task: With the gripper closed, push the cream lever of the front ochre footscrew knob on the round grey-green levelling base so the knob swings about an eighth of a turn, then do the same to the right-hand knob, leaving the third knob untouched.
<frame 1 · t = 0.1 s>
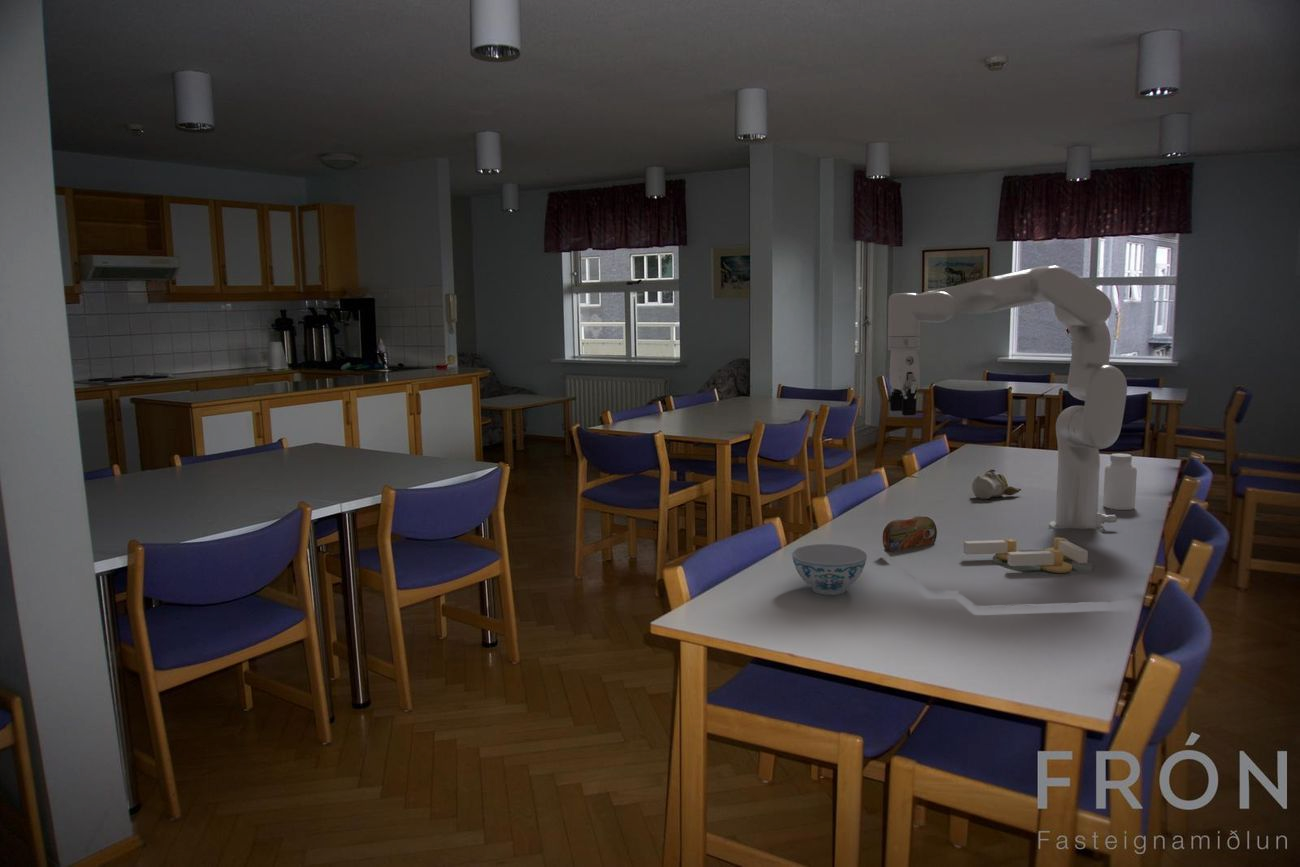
hand: (902, 412, 222), 31 cm above the table, fingers open, 9 cm apart
pill bottle: (1118, 508, 251), on the table
knob left: (994, 549, 198), point 4 cm above the table, hinge at 0.0°
knob right: (1067, 551, 195), point 4 cm above the table, hinge at 0.0°
tin: (909, 553, 210), on the table
knob front: (1039, 560, 188), point 4 cm above the table, hinge at 0.0°
level base: (1041, 568, 195), on the table
ceramic sculpture: (992, 497, 269), on the table
chinaware: (828, 590, 184), on the table
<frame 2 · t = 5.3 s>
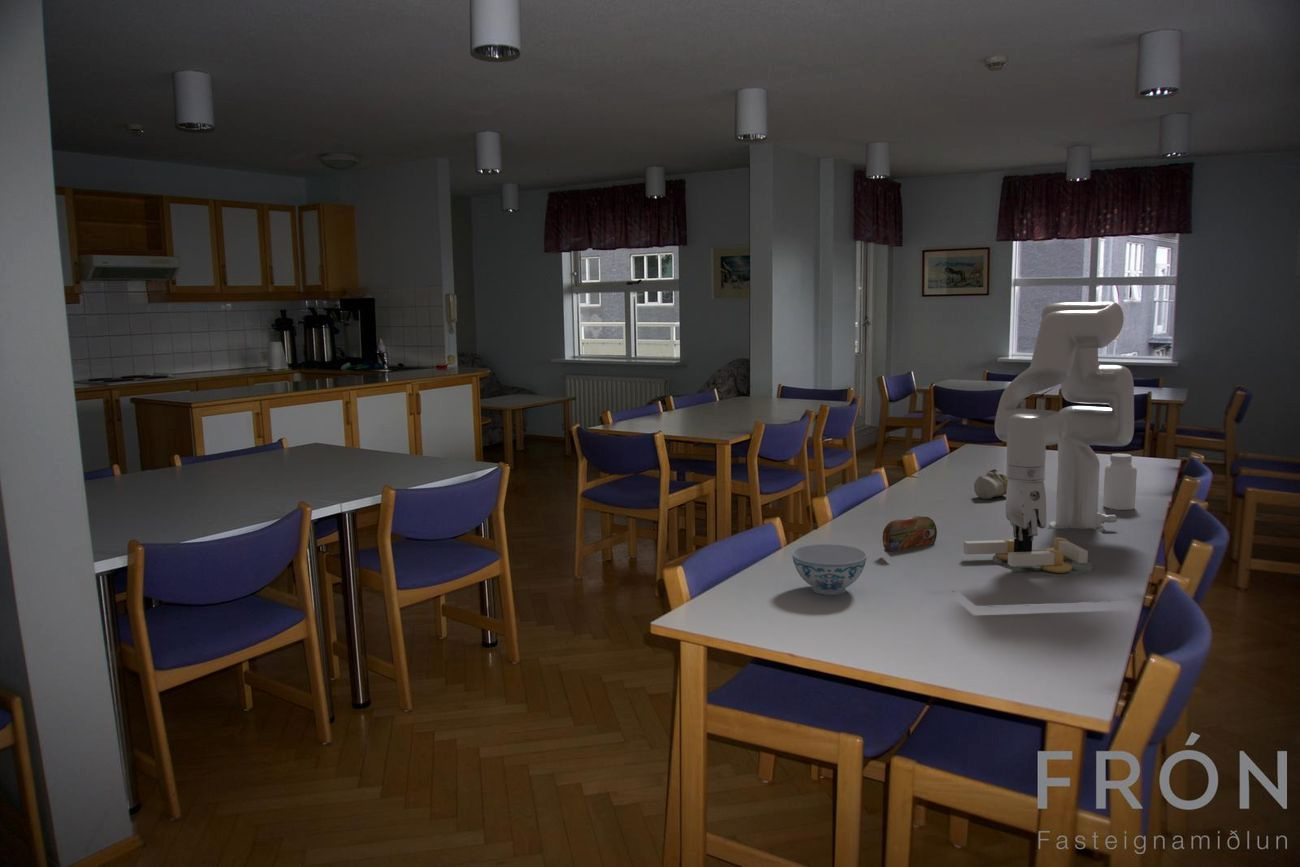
hand: (1022, 557, 190), 4 cm above the table, fingers closed
knob front: (1040, 560, 188), point 4 cm above the table, hinge at 1.0°, touching gripper
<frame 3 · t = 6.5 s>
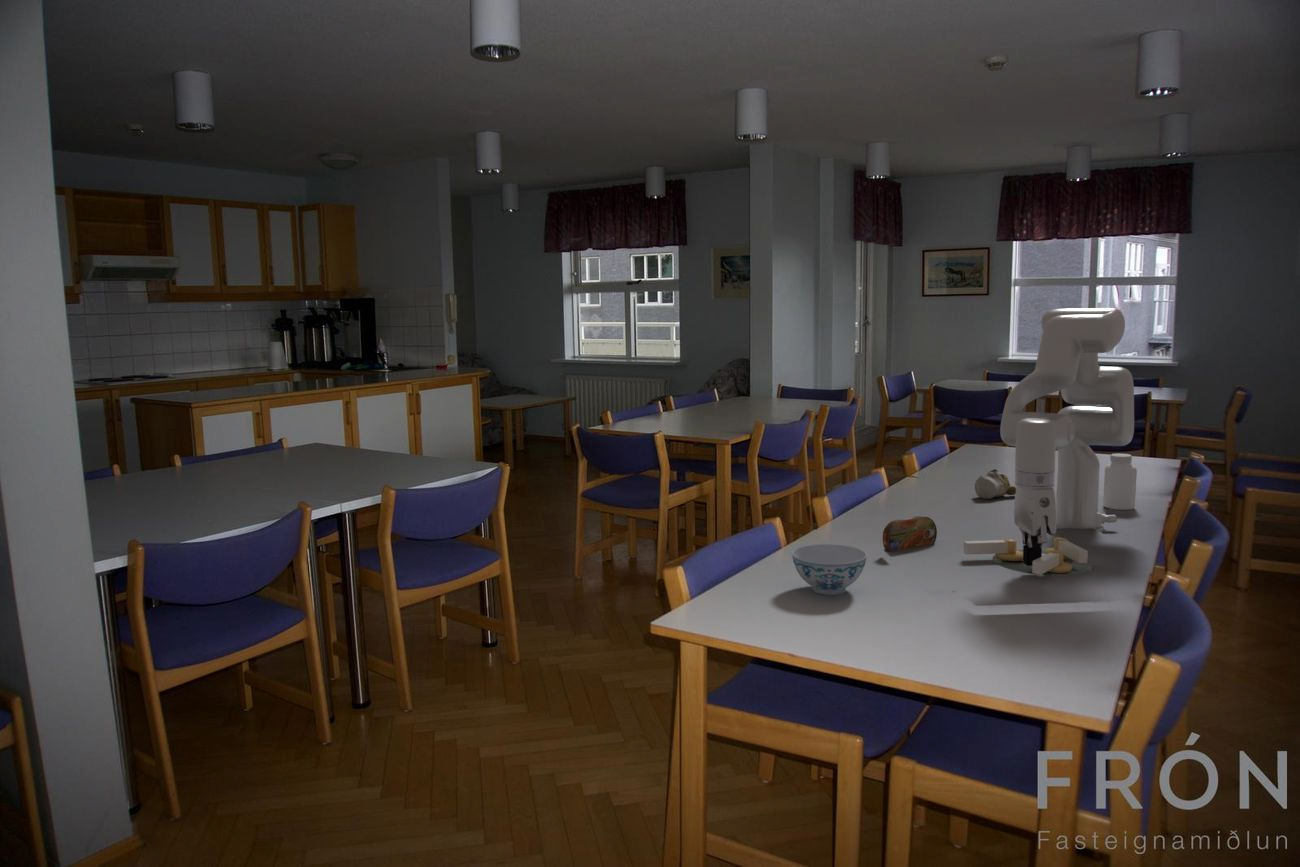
hand: (1032, 564, 187), 3 cm above the table, fingers closed
knob front: (1049, 563, 186), point 4 cm above the table, hinge at 42.8°, touching gripper
everything else where it was.
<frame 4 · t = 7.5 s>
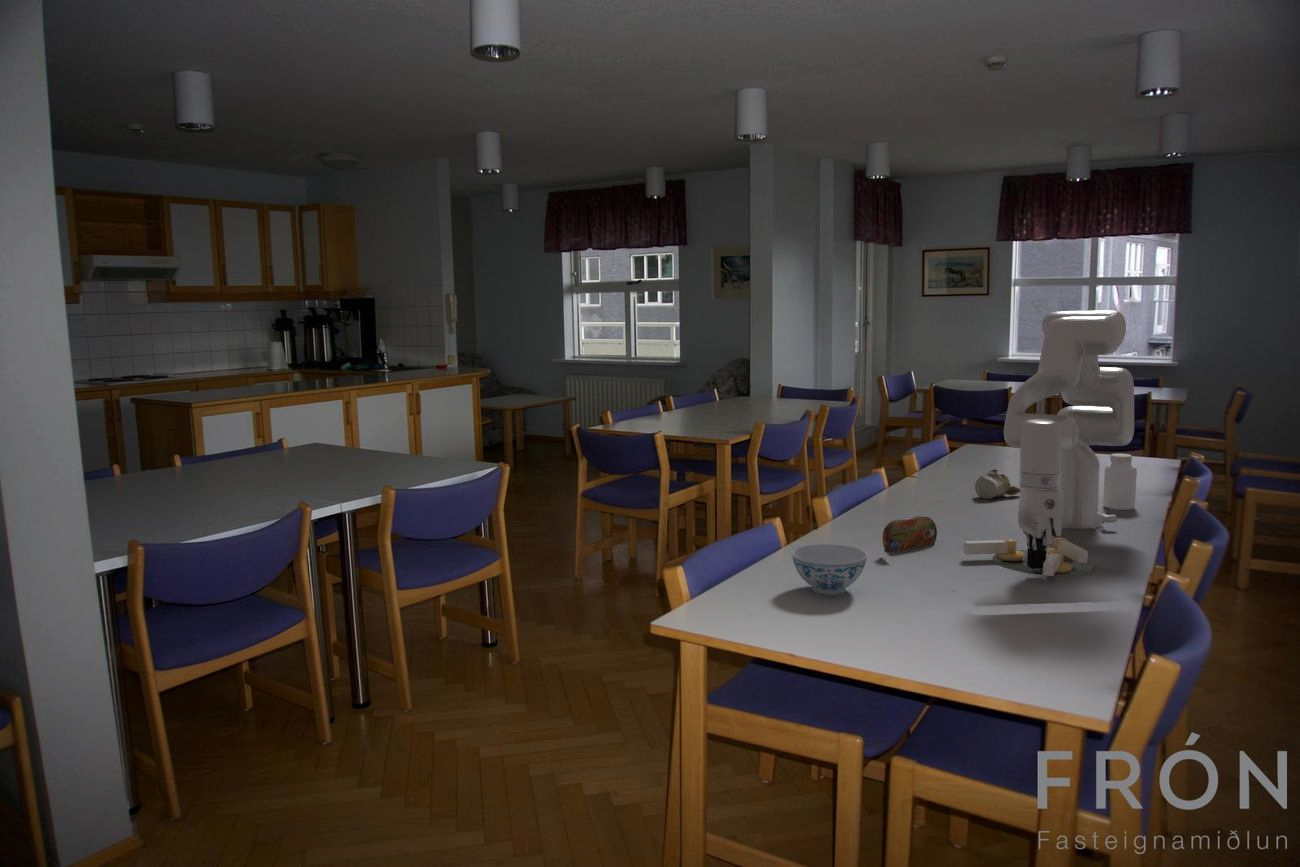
hand: (1036, 567, 185), 3 cm above the table, fingers closed
knob front: (1053, 564, 185), point 4 cm above the table, hinge at 55.0°, touching gripper
everything else where it was.
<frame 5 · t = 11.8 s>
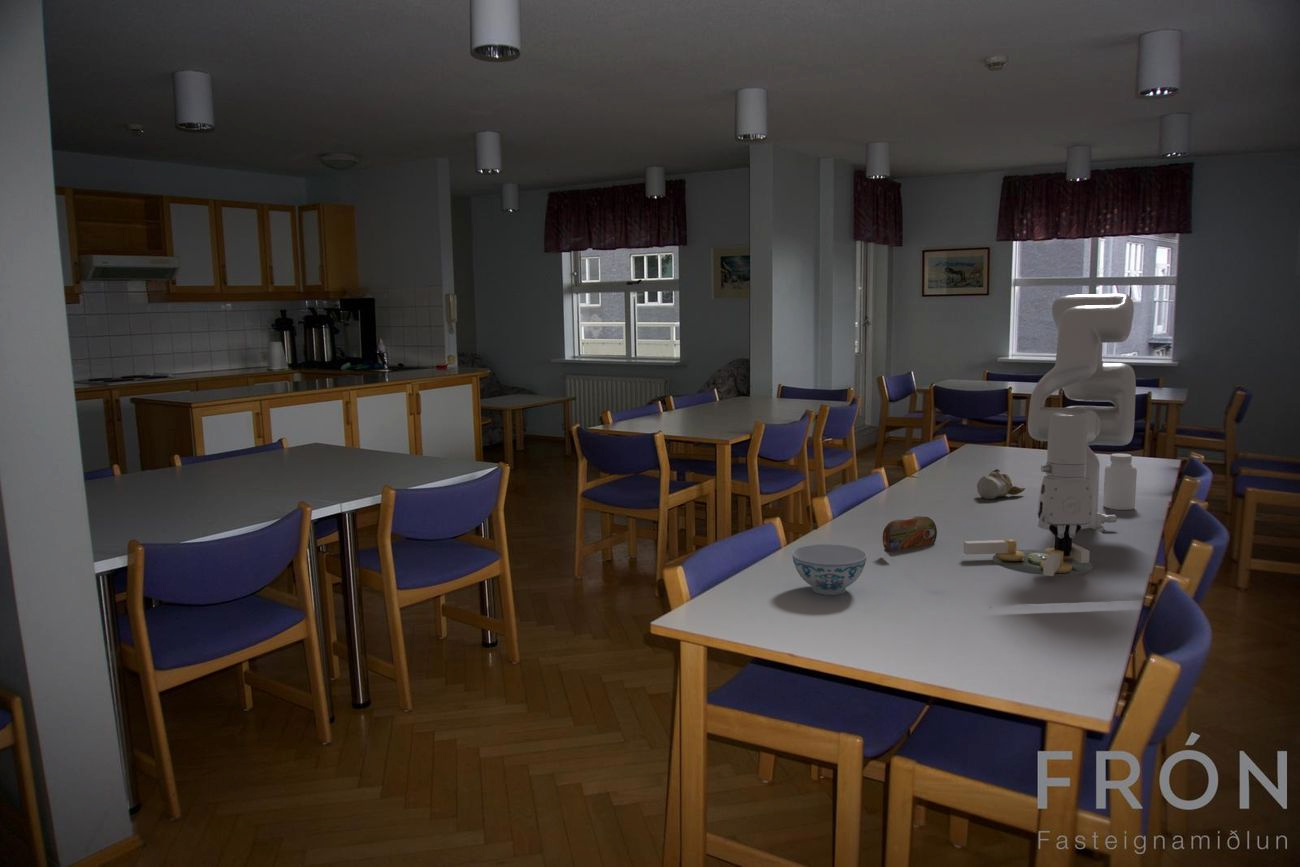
hand: (1062, 554, 192), 4 cm above the table, fingers closed
knob right: (1068, 551, 195), point 4 cm above the table, hinge at 2.4°, touching gripper
knob front: (1053, 564, 185), point 4 cm above the table, hinge at 55.3°
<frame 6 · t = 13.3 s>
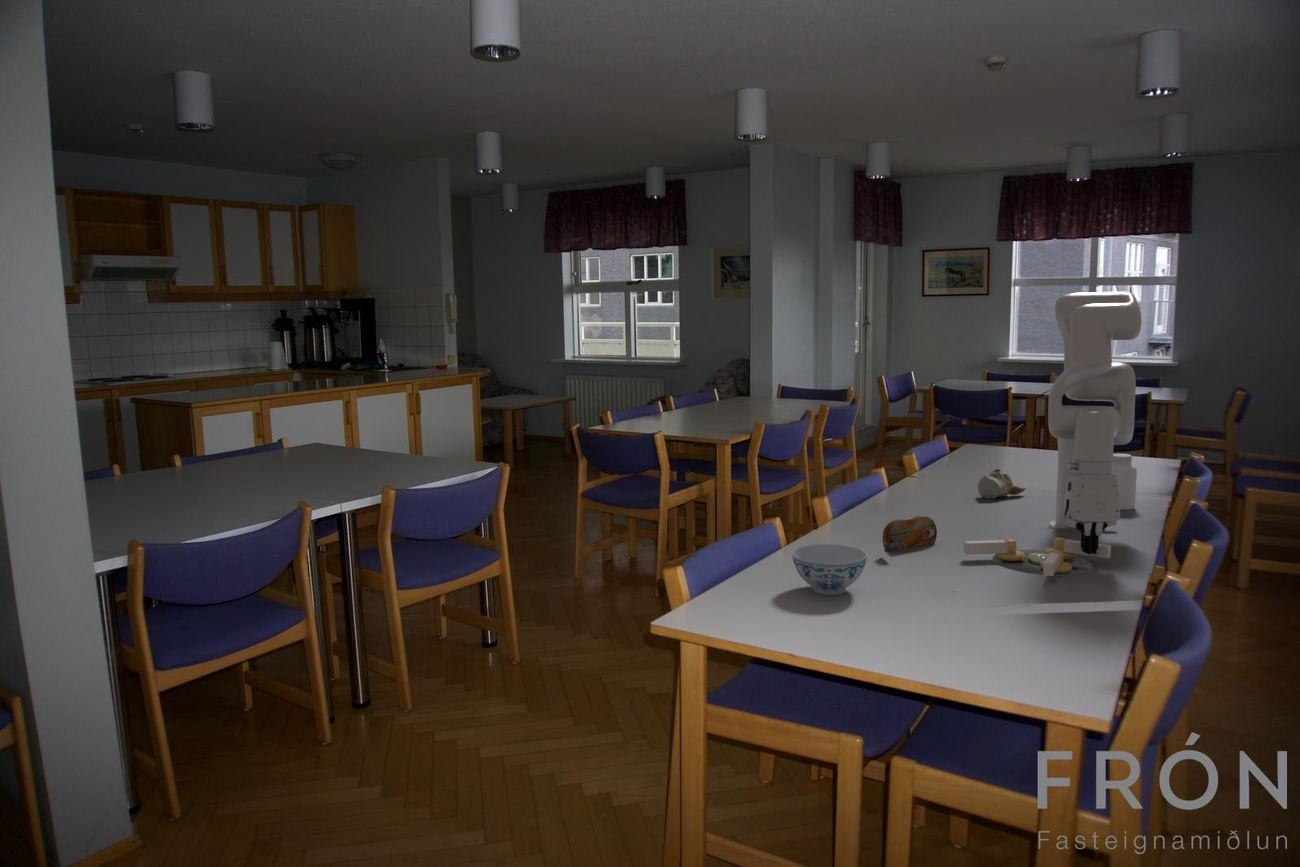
hand: (1089, 552, 192), 4 cm above the table, fingers closed
knob right: (1077, 549, 196), point 4 cm above the table, hinge at 47.2°, touching gripper
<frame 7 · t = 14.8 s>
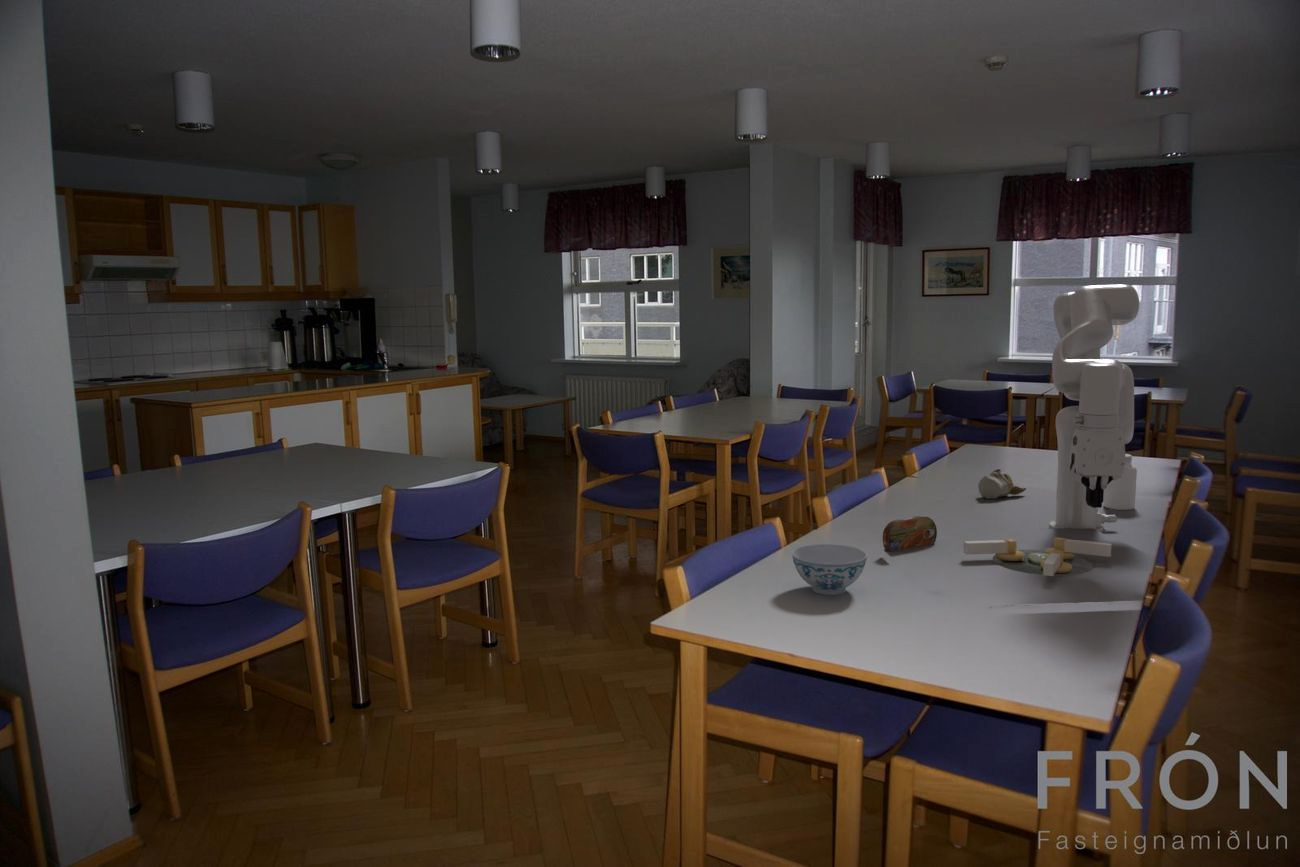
hand: (1094, 506, 191), 14 cm above the table, fingers closed
knob right: (1077, 549, 196), point 4 cm above the table, hinge at 56.9°
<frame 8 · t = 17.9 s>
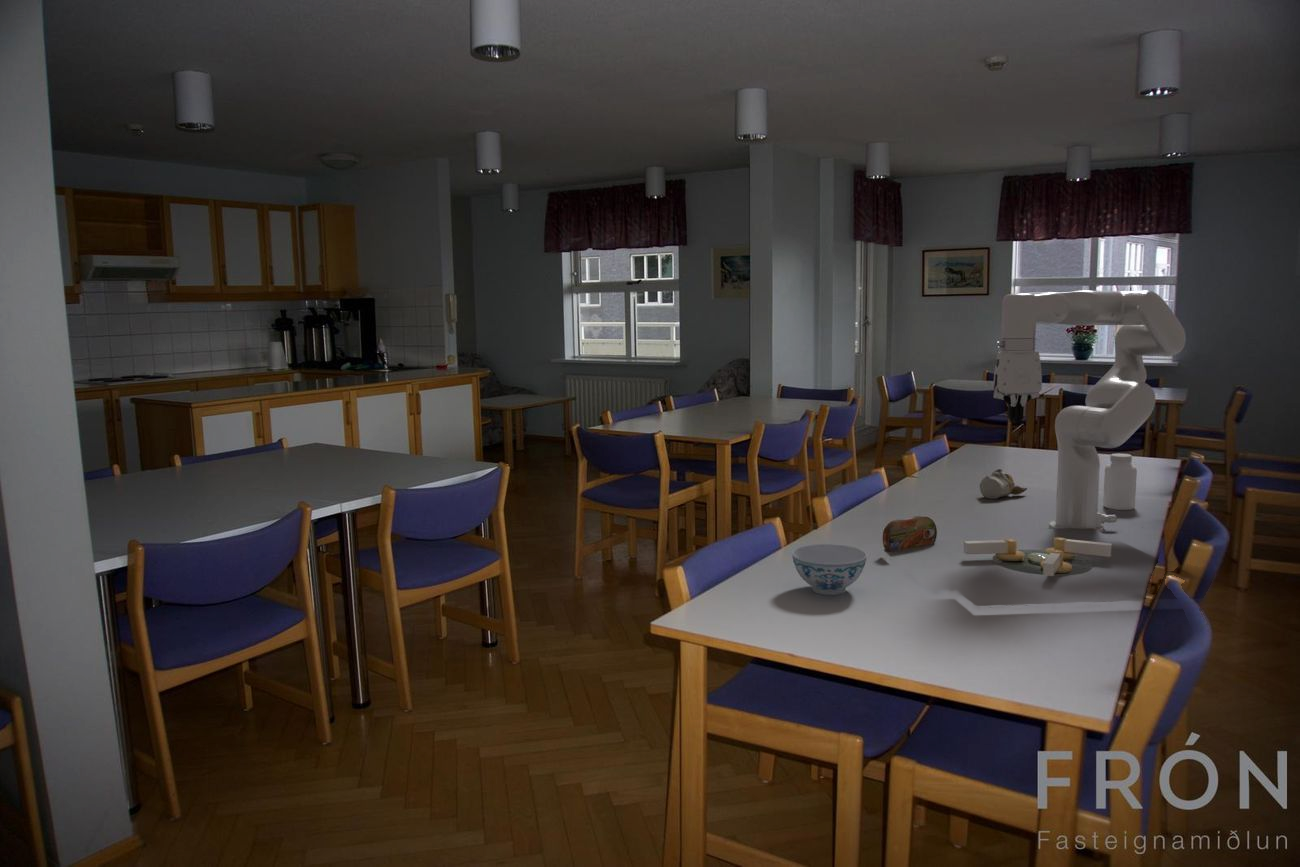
hand: (1015, 422, 215), 29 cm above the table, fingers closed
at the end: knob front at +55° (first picture: +0°); knob right at +57° (first picture: +0°); knob left at +0° (first picture: +0°) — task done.
